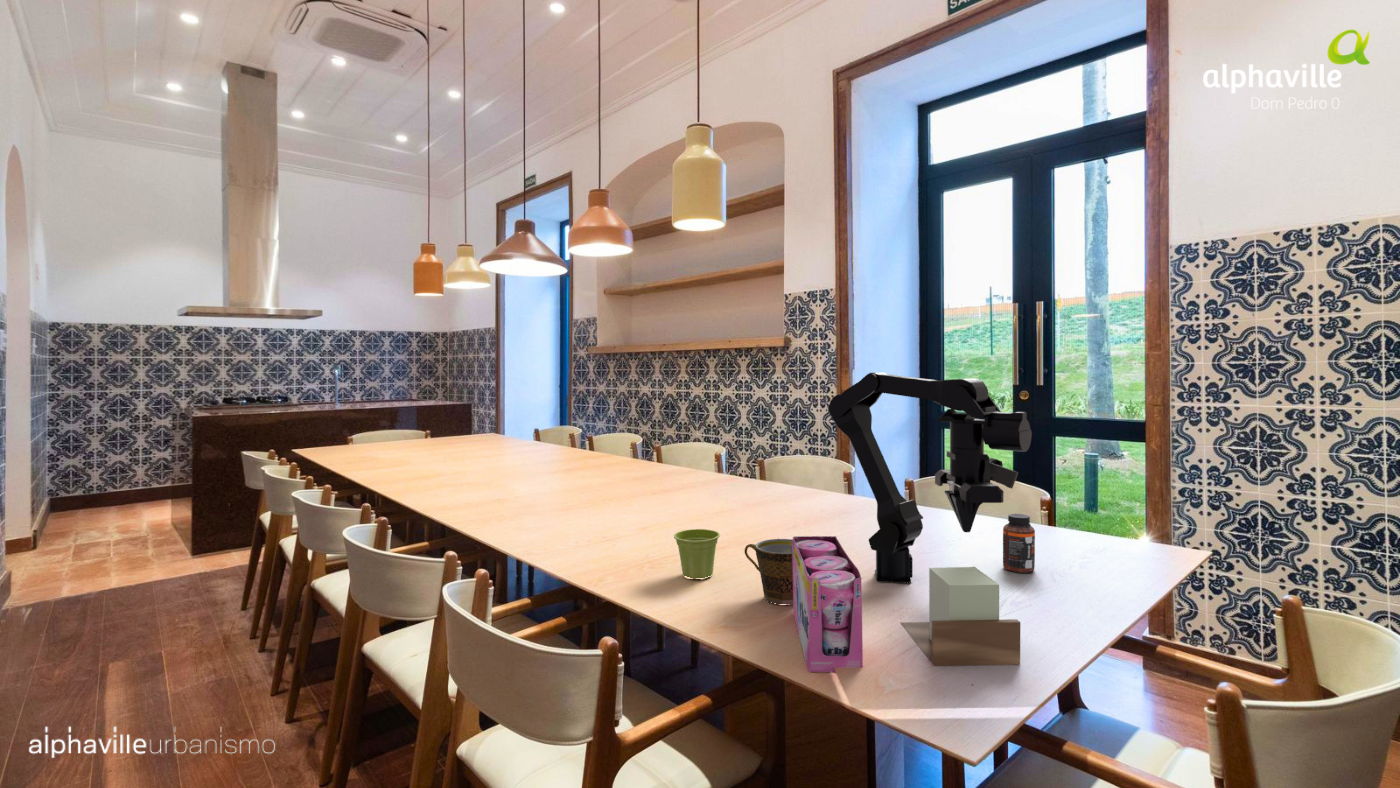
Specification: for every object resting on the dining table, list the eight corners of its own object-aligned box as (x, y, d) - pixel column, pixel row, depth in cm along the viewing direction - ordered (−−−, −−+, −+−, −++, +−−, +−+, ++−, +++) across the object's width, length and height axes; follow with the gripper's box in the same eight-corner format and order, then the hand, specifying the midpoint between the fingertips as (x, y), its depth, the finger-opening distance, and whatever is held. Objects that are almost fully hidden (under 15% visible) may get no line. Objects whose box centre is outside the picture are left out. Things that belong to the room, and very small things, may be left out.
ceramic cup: (819, 596, 121) (818, 543, 120) (795, 613, 112) (795, 556, 112) (758, 584, 128) (757, 534, 128) (731, 599, 120) (731, 546, 119)
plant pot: (692, 587, 127) (691, 543, 127) (665, 575, 135) (665, 533, 134) (729, 577, 133) (729, 535, 132) (702, 566, 140) (701, 526, 140)
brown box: (900, 627, 106) (900, 586, 106) (973, 626, 106) (973, 585, 106) (934, 671, 91) (934, 623, 90) (1020, 670, 91) (1020, 622, 90)
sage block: (929, 638, 100) (929, 567, 99) (974, 637, 100) (975, 567, 99) (949, 662, 92) (949, 585, 91) (999, 661, 92) (999, 584, 91)
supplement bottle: (1038, 574, 131) (1039, 519, 131) (1007, 573, 132) (1007, 518, 132) (1029, 565, 137) (1030, 512, 137) (999, 564, 138) (999, 511, 138)
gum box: (866, 678, 89) (866, 581, 89) (808, 678, 89) (808, 580, 89) (837, 612, 113) (836, 535, 112) (791, 612, 113) (791, 535, 113)
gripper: (1035, 453, 109) (1034, 546, 109) (992, 441, 127) (991, 519, 128) (967, 454, 109) (967, 545, 110) (934, 441, 128) (934, 519, 129)
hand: (966, 531), depth 119 cm, fingers closed
